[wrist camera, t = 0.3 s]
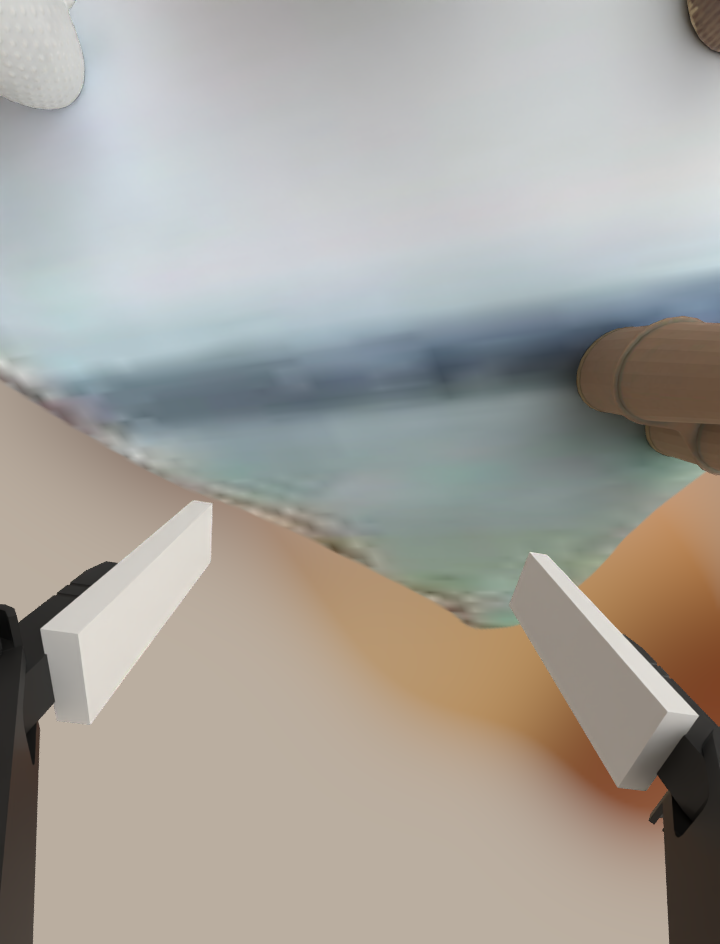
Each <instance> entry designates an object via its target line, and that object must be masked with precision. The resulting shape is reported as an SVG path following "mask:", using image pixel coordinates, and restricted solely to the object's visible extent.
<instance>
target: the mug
mask: <svg viewBox="0 0 720 944" xmlns="http://www.w3.org/2000/svg"><path fill="white" fill-rule="evenodd" d="M75 1H76V0H0V96H3V97H5V98H7V99H9V100H10V101H12V102H18V103H20V104H22V105H24V106H27V107H33V108H35V109H39V108H40V109H52V110H53V109H60V108H64V107H66V106H68V105H70V104H71V103H72V102H73V101H74V100H76V98H77V97H78V95H79V94H80V92H81V89H82V87H83V83H84V73H85V68H84V59H83V53H82V49H81V45H80V42H79V39H78V36H77V33H76V30H75V27H74V25H73V22H72V20H71V17H70V14H69V10H70V9H71V8H72V6H73V4H74V2H75Z"/></svg>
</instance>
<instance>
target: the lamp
mask: <svg viewBox="0 0 720 944" xmlns="http://www.w3.org/2000/svg"><path fill="white" fill-rule="evenodd" d="M687 6H688V10H689V15H690V20H691V24H692V26H693V28H694V30H695V31H696V33H697V35H698V37H699V39H700V40H701V41H702V42H703V43H705V44H706V45H707V46H708V47H709V48H710V49H712V50H714V51H717V52H720V0H687Z"/></svg>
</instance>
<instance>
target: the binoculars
mask: <svg viewBox="0 0 720 944" xmlns="http://www.w3.org/2000/svg"><path fill="white" fill-rule="evenodd" d="M576 383H577V388H578V393H579V394H580V396H581V398H582V400H583V401H584V402H585V403H586V404H587V405H588V406H589V407H591V408H593V409H595V410H597V411H600V412H607V413H613V414H618V415H623V416H625V417H626V418H627V419H629V420H631V421H633V422H635V423H637V424H643V425H645V432H646V438H647V440H648V442H649V444H650V446H651V447H652V448H653V449H654V450H655V451H657V452H659V453H661V454H663V455H666V456H670V457H675V458H678V459H681V460H684V461H687V462H691V463H694V464H697V465H698V466H699V467H700V468H701V469H702V470H705V471H707V472H709V473H712V474H714V475H720V323H705V322H703V321H701V320H699V319H697V318H692V317H685V316H680V317H673V318H666V319H663V320H661V321H658V322H656V323H653V324H651V325H649V326H640V327H625V328H618V329H615V330H613V331H610V332H608V333H606V334H604V335H603V336H601V337H600V338H598V339H597V340H596V341H595V342H594V343H593V344H592V345H591V346H590V347H589V348H588V349H587V351H586V352H585V354H584V356H583V357H582V359H581V361H580V364H579V367H578V370H577V380H576Z"/></svg>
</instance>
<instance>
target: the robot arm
mask: <svg viewBox="0 0 720 944" xmlns="http://www.w3.org/2000/svg"><path fill="white" fill-rule="evenodd" d="M211 538H212V503H207V502H201V501H194V500H193V501H192V502H190V503H189V504H188V505H187V506H186V507H184V508H183V509H182V510H181V511H180V512H178V513H177V514H176V515H175V516H174V517H173V518H171V519H170V520H169V521H168V522H167V523H165V524H164V525H163V526H162V527H161V528H159V529H158V530H157V531H156V532H155V533H154V534H153V535H151V536H150V537H149V538H148V539H146V540H145V541H144V542H143V543H142V544H140V545H139V546H138V547H137V548H136V549H135V550H133V551H132V552H131V553H130V554H129V555H127V556H126V557H125V558H124V559H123V560H122V561H120V562H119V563H114V562H107V561H106V562H104V563H101V564H99V565H97V566H95V567H93V568H90V569H88V570H86V571H85V572H83V573H82V574H81V575H80V576H78V577H77V578H76V579H74V580H73V581H72V582H71V583H70V585H67V586H65V587H64V588H63V589H62V590H60V591H59V592H57V595H54V596H52V597H51V598H50V599H48V600H47V601H46V602H44V603H43V604H42V605H41V606H39V607H38V608H37V609H35V610H34V611H33V612H32V613H30V614H29V615H28V616H26V617H25V618H24V619H23V620H21V621H20V622H19V623H18V620H17V615H16V612H15V609H14V608H12V607H10V606H7V605H3V604H0V944H33V917H34V890H35V889H34V887H35V860H36V830H37V829H36V828H37V799H38V797H37V796H38V770H39V739H40V727H39V723H38V720H39V719H40V718H41V717H42V716H43V715H44V713H45V712H46V711H47V710H48V709H49V708H50V707H51V705H53V703H54V709H55V714H56V720H57V721H62V722H70V723H78V724H87V725H90V724H91V723H92V722H93V720H94V719H95V718H96V716H97V715H98V714H99V712H100V711H101V710H102V708H103V707H104V705H105V704H106V703H107V701H108V700H109V699H110V697H111V696H112V695H113V693H114V692H115V690H116V689H117V688H118V686H119V685H120V684H121V682H122V681H123V680H124V678H125V677H126V676H127V674H128V673H129V672H130V670H131V669H132V668H133V666H134V665H135V664H136V662H137V661H138V660H139V658H140V657H141V656H142V654H143V653H144V651H145V650H146V649H147V647H148V646H149V645H150V643H151V642H152V641H153V639H154V638H155V637H156V635H157V634H158V633H159V631H160V630H161V629H162V627H163V626H164V624H165V623H166V622H167V620H168V619H169V618H170V616H171V615H172V613H173V612H174V611H175V609H176V608H177V607H178V606H179V604H180V603H181V601H182V600H183V598H184V597H185V596H186V595H187V593H188V592H189V591H190V589H191V588H192V587H193V585H194V584H195V582H196V581H197V580H198V579H199V577H200V576H201V574H202V573H203V572H204V570H205V569H206V568H207V566H208V565H209V563H210V562H211ZM509 606H510V608H511V609H512V611H513V613H514V614H515V616H516V618H517V619H518V621H519V623H520V624H521V626H522V628H523V629H524V631H525V633H526V634H527V636H528V638H529V640H530V641H531V643H532V645H533V646H534V648H535V650H536V651H537V653H538V655H539V656H540V658H541V660H542V661H543V663H544V665H545V666H546V668H547V670H548V671H549V673H550V675H551V676H552V678H553V680H554V681H555V683H556V685H557V686H558V688H559V690H560V692H561V693H562V695H563V696H564V698H565V700H566V702H567V703H568V705H569V707H570V708H571V710H572V712H573V713H574V715H575V717H576V718H577V720H578V722H579V723H580V725H581V727H582V728H583V730H584V732H585V733H586V735H587V737H588V738H589V740H590V742H591V743H592V745H593V747H594V749H595V750H596V752H597V753H598V755H599V757H600V759H601V760H602V762H603V764H604V765H605V767H606V769H607V770H608V772H609V774H610V775H611V777H612V778H613V780H614V782H615V784H616V785H617V787H618V788H626V789H634V790H642V791H646V790H647V789H648V788H649V786H650V785H651V783H652V782H653V781H654V779H655V778H656V776H657V775H658V776H659V778H660V779H661V780H662V782H663V783H664V784H665V786H666V788H667V789H668V791H667V792H666V794H665V795H664V797H663V798H662V799H661V801H660V802H659V803H658V805H657V806H656V807H655V809H654V810H653V812H652V813H651V815H650V818H649V821H650V822H651V823H653V824H655V823H656V822H657V820H658V819H659V818H663V824H664V828H663V832H664V843H665V864H666V883H667V884H666V885H667V905H668V924H669V944H720V727H718V726H717V725H716V724H715V723H714V722H713V721H712V719H711V718H710V717H708V715H707V714H706V713H705V712H704V711H703V710H702V709H701V708H700V707H699V706H698V705H697V704H696V703H695V702H694V701H693V700H692V699H691V698H690V697H689V696H688V695H687V694H686V693H685V692H684V691H683V689H681V687H680V686H679V685H678V684H677V683H676V682H675V681H674V680H673V679H670V678H669V675H668V674H667V673H666V672H665V671H664V670H663V669H662V668H661V667H660V666H657V663H656V662H655V661H654V660H653V659H652V658H651V657H650V656H649V654H648V653H646V651H645V650H644V649H643V648H642V647H640V646H639V645H638V644H636V643H635V642H634V641H632V640H631V639H630V638H628V637H627V636H626V635H624V634H621V633H620V631H618V629H617V628H616V627H615V626H614V625H613V624H612V623H611V622H610V621H609V620H608V619H607V618H606V617H605V616H604V615H603V613H602V612H601V611H600V610H599V609H598V608H597V607H596V606H595V605H594V604H593V603H592V602H591V601H590V600H589V599H588V598H587V596H585V594H584V593H583V592H582V591H581V590H580V589H579V588H578V587H577V586H576V585H575V584H574V583H573V582H572V581H571V580H570V578H569V577H568V576H567V575H566V574H565V573H564V572H563V571H562V570H561V569H560V568H559V567H558V566H557V565H556V564H555V563H554V562H553V560H552V559H551V558H550V557H549V556H548V555H546V554H539V553H533V552H529V554H528V557H527V560H526V562H525V565H524V567H523V570H522V573H521V575H520V578H519V580H518V583H517V586H516V588H515V591H514V593H513V596H512V599H511V601H510V604H509Z"/></svg>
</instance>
